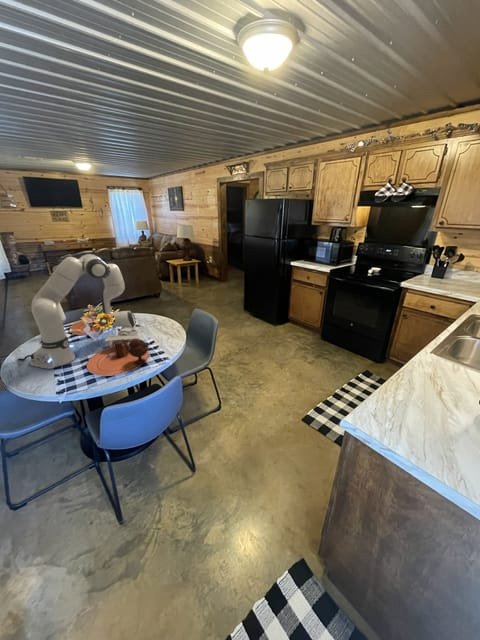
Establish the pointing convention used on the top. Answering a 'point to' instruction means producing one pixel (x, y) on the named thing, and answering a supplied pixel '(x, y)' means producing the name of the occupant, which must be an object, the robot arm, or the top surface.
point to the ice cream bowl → (138, 350)
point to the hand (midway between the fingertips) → (119, 345)
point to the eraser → (120, 348)
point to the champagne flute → (62, 315)
